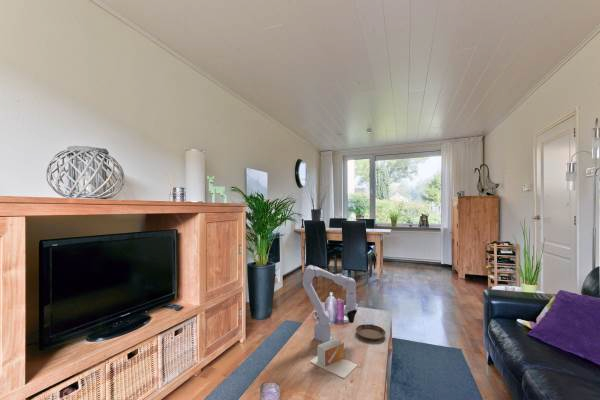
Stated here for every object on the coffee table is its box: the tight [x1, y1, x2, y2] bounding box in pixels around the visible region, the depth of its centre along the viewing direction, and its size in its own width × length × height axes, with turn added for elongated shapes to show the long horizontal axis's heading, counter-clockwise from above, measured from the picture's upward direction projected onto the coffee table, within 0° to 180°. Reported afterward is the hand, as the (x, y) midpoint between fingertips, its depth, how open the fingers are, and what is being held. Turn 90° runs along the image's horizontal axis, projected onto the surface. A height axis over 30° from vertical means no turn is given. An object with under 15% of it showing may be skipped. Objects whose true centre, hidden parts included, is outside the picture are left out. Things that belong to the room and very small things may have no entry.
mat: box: [309, 355, 358, 380], centre depth 134 cm, size 20×13×1 cm, turn 49°
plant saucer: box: [355, 323, 387, 342], centre depth 163 cm, size 18×18×3 cm
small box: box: [316, 338, 345, 367], centre depth 137 cm, size 8×6×13 cm
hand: (351, 322), depth 157 cm, fingers closed
